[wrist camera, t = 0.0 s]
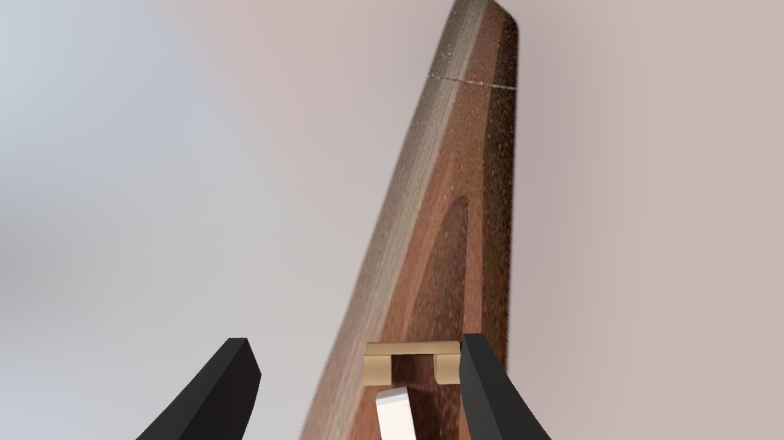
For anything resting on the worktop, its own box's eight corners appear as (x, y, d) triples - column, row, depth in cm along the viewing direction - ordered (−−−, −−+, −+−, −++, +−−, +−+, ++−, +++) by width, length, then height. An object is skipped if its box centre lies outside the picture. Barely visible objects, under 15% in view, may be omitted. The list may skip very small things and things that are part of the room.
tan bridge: (459, 377, 40) (465, 383, 37) (367, 379, 41) (364, 385, 37) (456, 340, 42) (462, 343, 38) (367, 342, 42) (364, 344, 38)
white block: (421, 468, 38) (424, 484, 34) (391, 474, 38) (390, 492, 34) (406, 386, 40) (407, 393, 36) (377, 392, 40) (375, 399, 36)
